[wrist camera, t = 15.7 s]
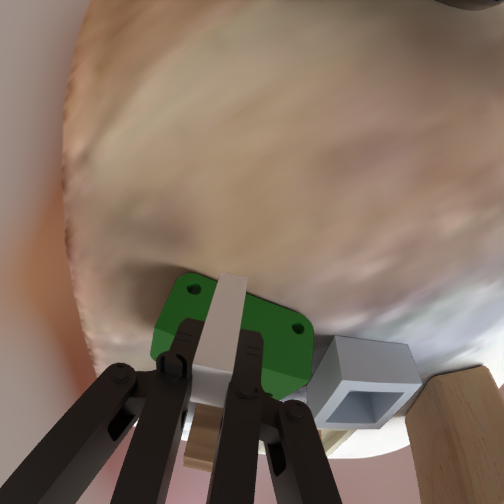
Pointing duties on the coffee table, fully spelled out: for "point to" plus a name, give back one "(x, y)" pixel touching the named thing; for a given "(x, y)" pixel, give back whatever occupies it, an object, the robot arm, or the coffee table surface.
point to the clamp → (253, 318)
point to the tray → (326, 439)
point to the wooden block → (459, 439)
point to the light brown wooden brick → (203, 437)
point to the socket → (361, 383)
